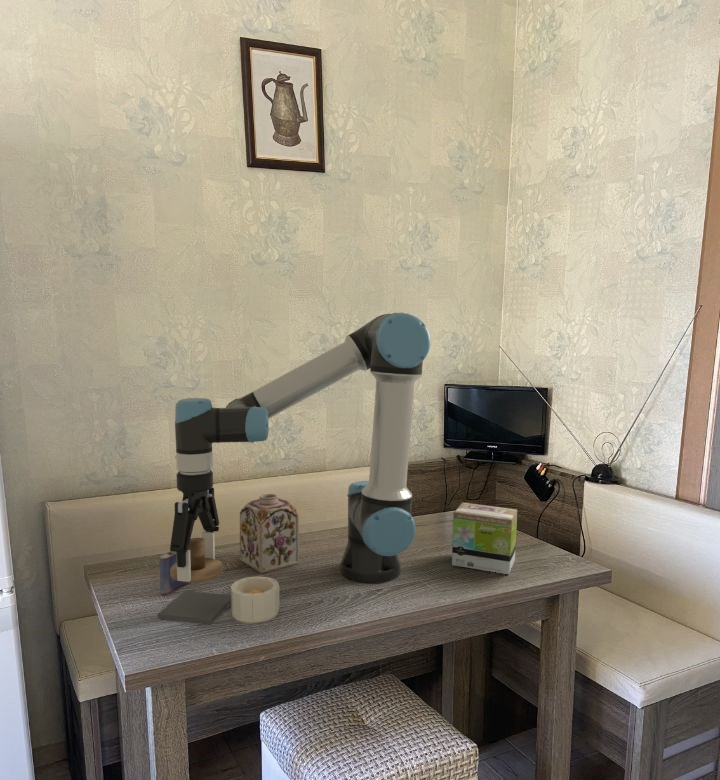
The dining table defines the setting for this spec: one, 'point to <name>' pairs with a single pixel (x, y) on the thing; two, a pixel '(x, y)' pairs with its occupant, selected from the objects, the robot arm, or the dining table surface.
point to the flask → (168, 574)
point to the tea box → (484, 537)
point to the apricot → (255, 591)
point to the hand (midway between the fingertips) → (196, 570)
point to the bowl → (255, 600)
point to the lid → (199, 563)
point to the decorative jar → (269, 534)
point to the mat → (196, 607)
